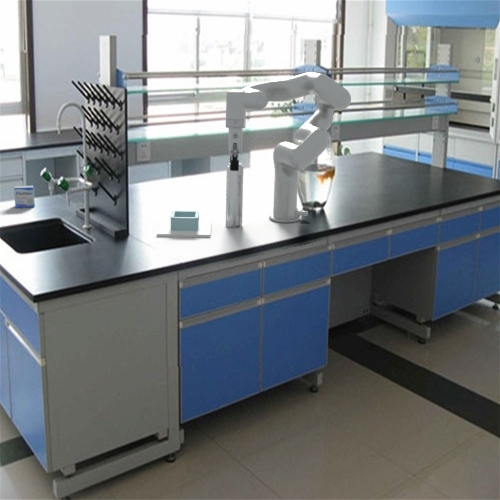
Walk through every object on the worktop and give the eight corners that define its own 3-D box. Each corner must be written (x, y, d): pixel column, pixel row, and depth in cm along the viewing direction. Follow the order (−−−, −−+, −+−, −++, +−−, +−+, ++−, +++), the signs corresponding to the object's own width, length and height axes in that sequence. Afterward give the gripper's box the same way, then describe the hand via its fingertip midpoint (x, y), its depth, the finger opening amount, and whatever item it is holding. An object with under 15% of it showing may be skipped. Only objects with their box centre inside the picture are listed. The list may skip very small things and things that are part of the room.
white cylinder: (241, 223, 289) (243, 161, 282) (242, 228, 283) (243, 165, 275) (225, 223, 289) (226, 161, 281) (225, 227, 283) (226, 164, 275)
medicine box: (15, 208, 302) (13, 188, 300) (15, 205, 307) (14, 185, 304) (34, 207, 304) (33, 187, 302) (35, 204, 309) (33, 184, 306)
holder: (211, 222, 290) (211, 208, 288) (210, 237, 271) (210, 221, 269) (161, 221, 289) (161, 207, 287) (156, 236, 270) (156, 221, 268)
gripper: (246, 127, 265) (244, 173, 271) (244, 120, 282) (243, 164, 287) (225, 126, 265) (224, 172, 270) (225, 120, 282) (224, 163, 287)
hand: (234, 168), depth 279 cm, fingers open, 9 cm apart
